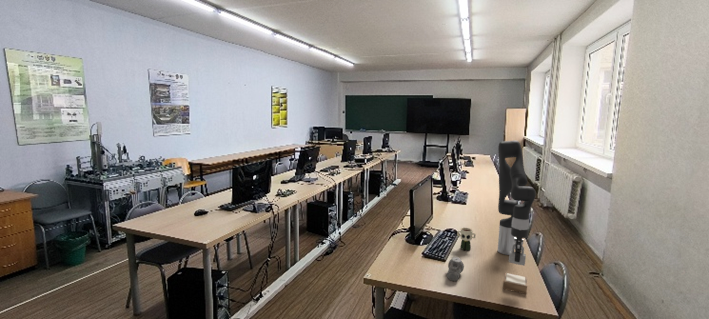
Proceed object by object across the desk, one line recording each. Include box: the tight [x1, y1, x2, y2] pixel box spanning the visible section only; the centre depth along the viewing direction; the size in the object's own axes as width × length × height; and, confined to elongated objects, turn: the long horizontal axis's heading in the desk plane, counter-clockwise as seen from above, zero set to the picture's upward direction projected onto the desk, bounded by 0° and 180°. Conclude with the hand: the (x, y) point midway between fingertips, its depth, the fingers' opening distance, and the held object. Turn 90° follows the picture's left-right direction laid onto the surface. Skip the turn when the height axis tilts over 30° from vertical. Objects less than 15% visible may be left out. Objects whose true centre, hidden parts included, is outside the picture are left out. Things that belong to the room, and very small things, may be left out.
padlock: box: [508, 244, 527, 266], centre depth 162 cm, size 7×4×10 cm, turn 57°
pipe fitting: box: [446, 256, 465, 282], centre depth 173 cm, size 12×8×10 cm, turn 153°
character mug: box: [456, 227, 476, 251], centre depth 208 cm, size 11×7×13 cm, turn 66°
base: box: [503, 272, 528, 295], centre depth 164 cm, size 10×10×4 cm
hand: (517, 259), depth 162 cm, fingers closed on padlock, 4 cm apart
